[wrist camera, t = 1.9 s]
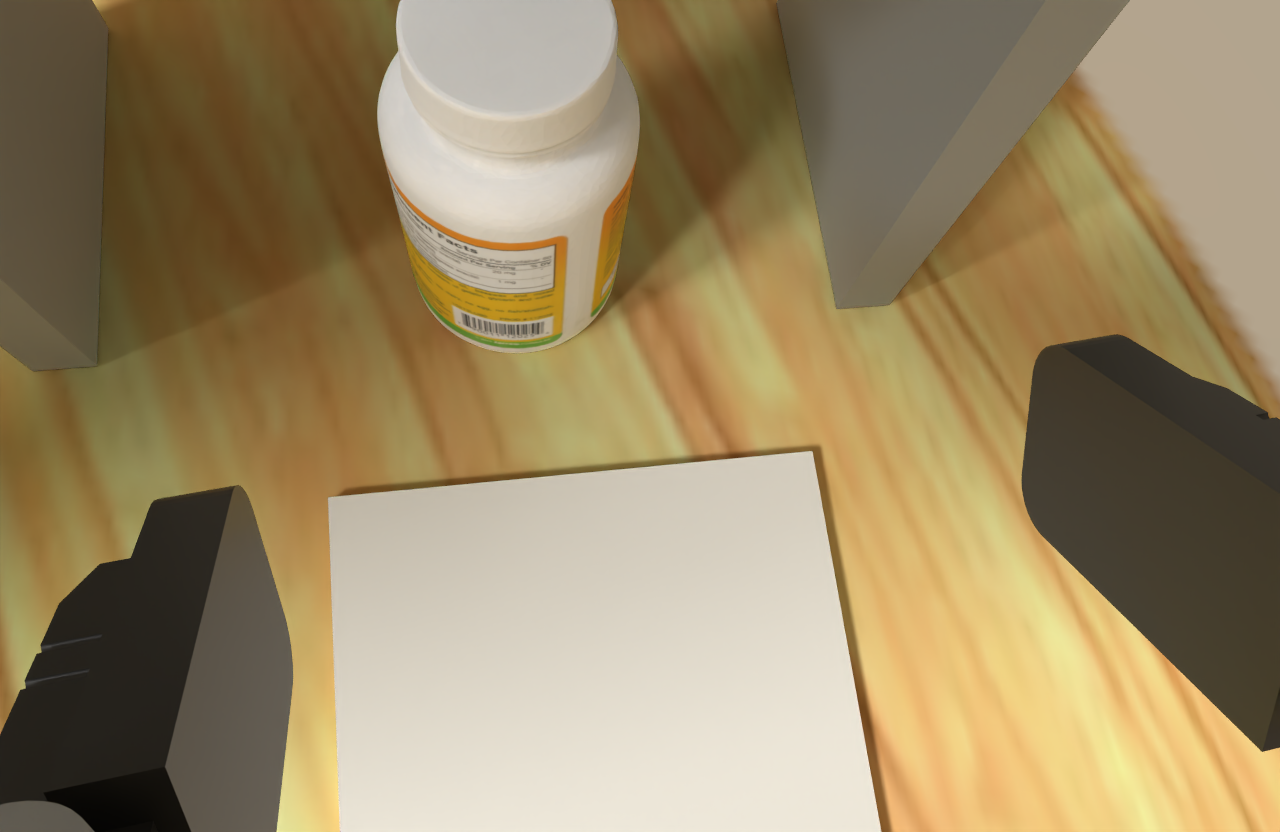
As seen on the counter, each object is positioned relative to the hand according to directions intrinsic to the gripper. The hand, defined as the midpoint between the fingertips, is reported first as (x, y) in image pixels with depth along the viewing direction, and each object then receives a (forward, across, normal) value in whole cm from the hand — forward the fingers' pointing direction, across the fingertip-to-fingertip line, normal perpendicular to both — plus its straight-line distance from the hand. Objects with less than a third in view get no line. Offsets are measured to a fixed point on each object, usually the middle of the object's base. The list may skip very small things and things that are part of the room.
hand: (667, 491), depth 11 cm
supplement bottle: (+18, 0, +4) cm, 18 cm away
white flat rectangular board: (+10, 0, +11) cm, 15 cm away
